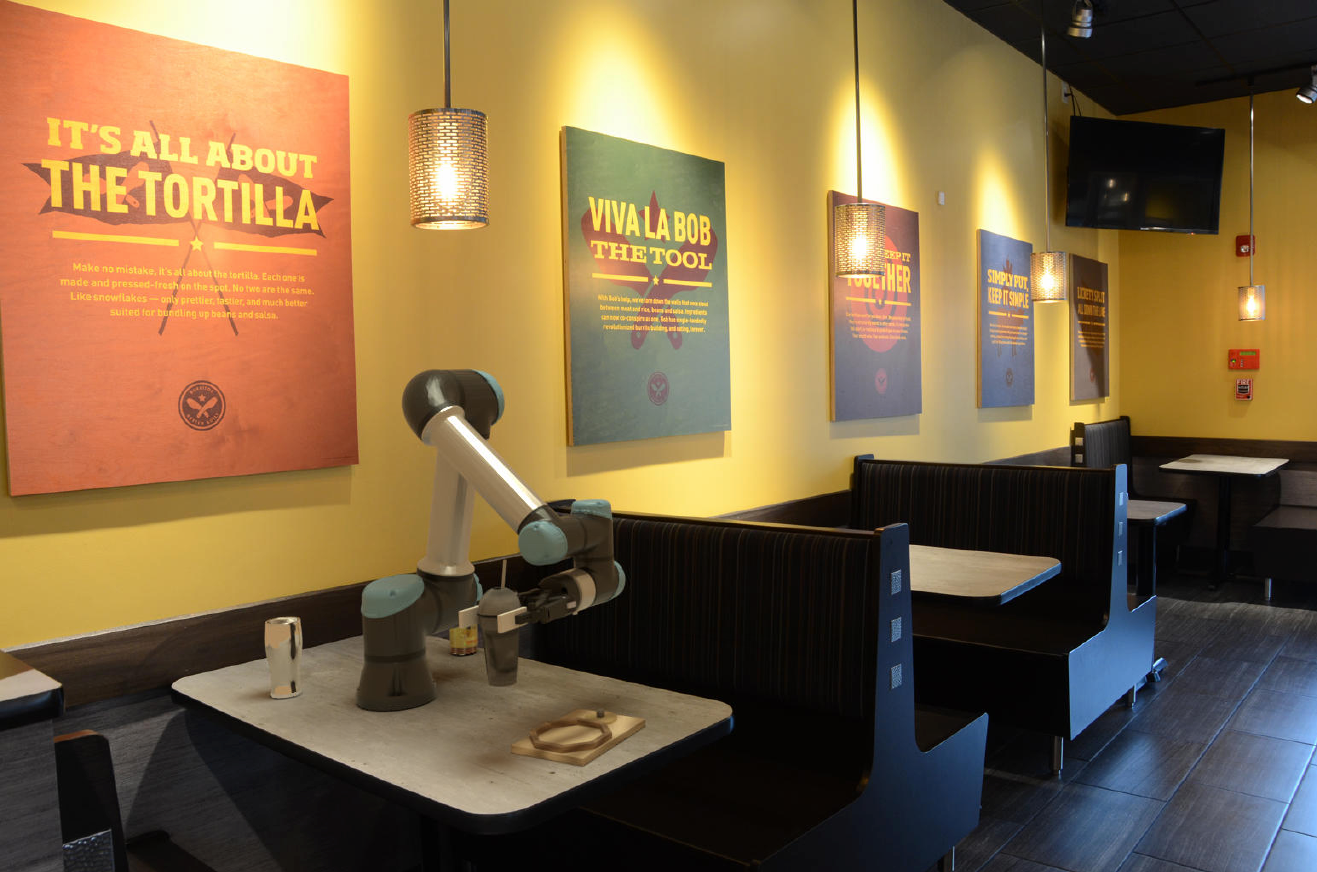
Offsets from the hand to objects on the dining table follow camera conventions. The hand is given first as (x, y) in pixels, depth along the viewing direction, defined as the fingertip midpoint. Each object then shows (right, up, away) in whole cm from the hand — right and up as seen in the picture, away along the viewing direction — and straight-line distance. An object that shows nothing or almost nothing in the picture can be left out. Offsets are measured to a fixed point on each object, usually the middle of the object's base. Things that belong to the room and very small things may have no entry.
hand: (480, 622), depth 152 cm
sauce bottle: (-16, -21, +69) cm, 74 cm away
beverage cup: (+3, -11, +5) cm, 12 cm away
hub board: (+15, -22, +12) cm, 29 cm away
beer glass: (-46, -23, +41) cm, 66 cm away
